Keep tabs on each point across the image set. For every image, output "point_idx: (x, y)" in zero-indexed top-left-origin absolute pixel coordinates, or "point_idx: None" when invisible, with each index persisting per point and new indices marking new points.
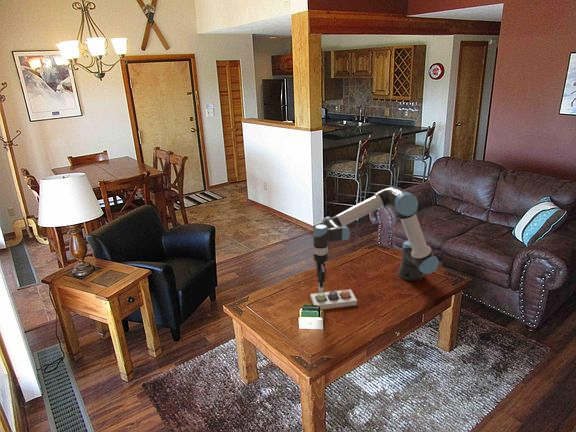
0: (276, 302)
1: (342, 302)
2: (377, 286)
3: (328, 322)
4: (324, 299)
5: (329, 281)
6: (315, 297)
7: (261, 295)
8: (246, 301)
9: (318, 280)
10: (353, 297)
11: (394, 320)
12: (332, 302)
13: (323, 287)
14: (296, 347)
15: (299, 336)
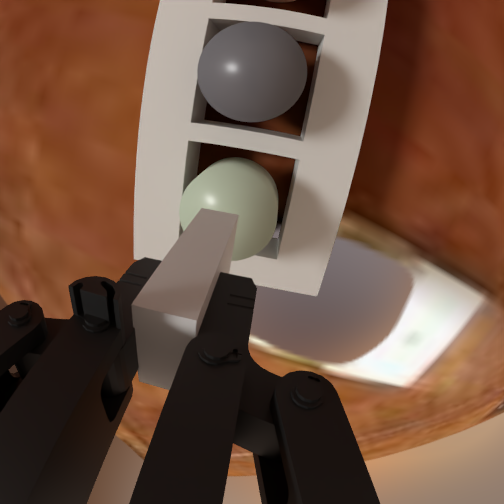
0: (152, 395)
1: (380, 41)
2: None
3: (469, 247)
4: (273, 186)
5: (7, 46)
6: (182, 230)
7: None
8: (131, 444)
9: (142, 378)
10: None
11: None
12: (347, 129)
13: (226, 241)
14: (476, 405)
15: (446, 392)
